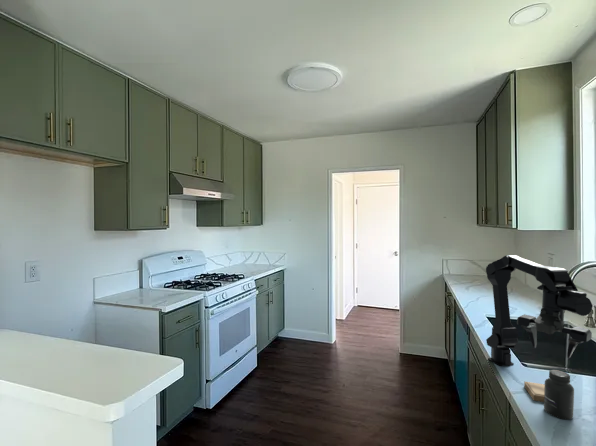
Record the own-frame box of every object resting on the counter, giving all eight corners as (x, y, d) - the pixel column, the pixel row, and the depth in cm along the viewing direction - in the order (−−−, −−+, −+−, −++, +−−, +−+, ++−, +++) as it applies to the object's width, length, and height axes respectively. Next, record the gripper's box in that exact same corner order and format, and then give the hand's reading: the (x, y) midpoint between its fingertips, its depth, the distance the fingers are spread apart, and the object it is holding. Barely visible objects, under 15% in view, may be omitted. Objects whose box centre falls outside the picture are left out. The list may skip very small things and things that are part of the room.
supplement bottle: (541, 413, 95) (542, 372, 95) (545, 404, 100) (546, 365, 100) (572, 423, 90) (573, 381, 90) (575, 413, 95) (575, 373, 95)
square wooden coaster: (524, 386, 110) (524, 380, 110) (556, 391, 108) (556, 385, 108) (533, 400, 102) (533, 394, 102) (568, 406, 99) (568, 399, 99)
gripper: (510, 303, 109) (509, 348, 110) (582, 318, 94) (579, 371, 95) (524, 298, 116) (522, 341, 116) (593, 311, 101) (590, 361, 101)
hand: (551, 352), depth 107 cm, fingers open, 9 cm apart
